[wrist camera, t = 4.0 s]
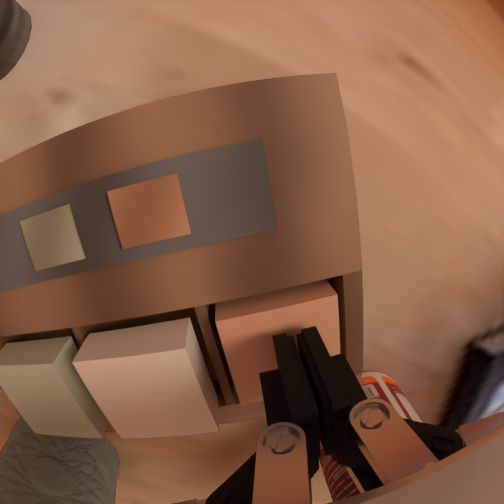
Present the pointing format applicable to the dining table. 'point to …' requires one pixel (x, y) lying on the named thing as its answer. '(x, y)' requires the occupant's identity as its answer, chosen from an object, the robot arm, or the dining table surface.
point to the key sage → (50, 388)
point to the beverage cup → (12, 34)
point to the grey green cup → (56, 469)
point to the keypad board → (184, 218)
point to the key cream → (150, 380)
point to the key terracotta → (273, 329)
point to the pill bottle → (374, 388)
